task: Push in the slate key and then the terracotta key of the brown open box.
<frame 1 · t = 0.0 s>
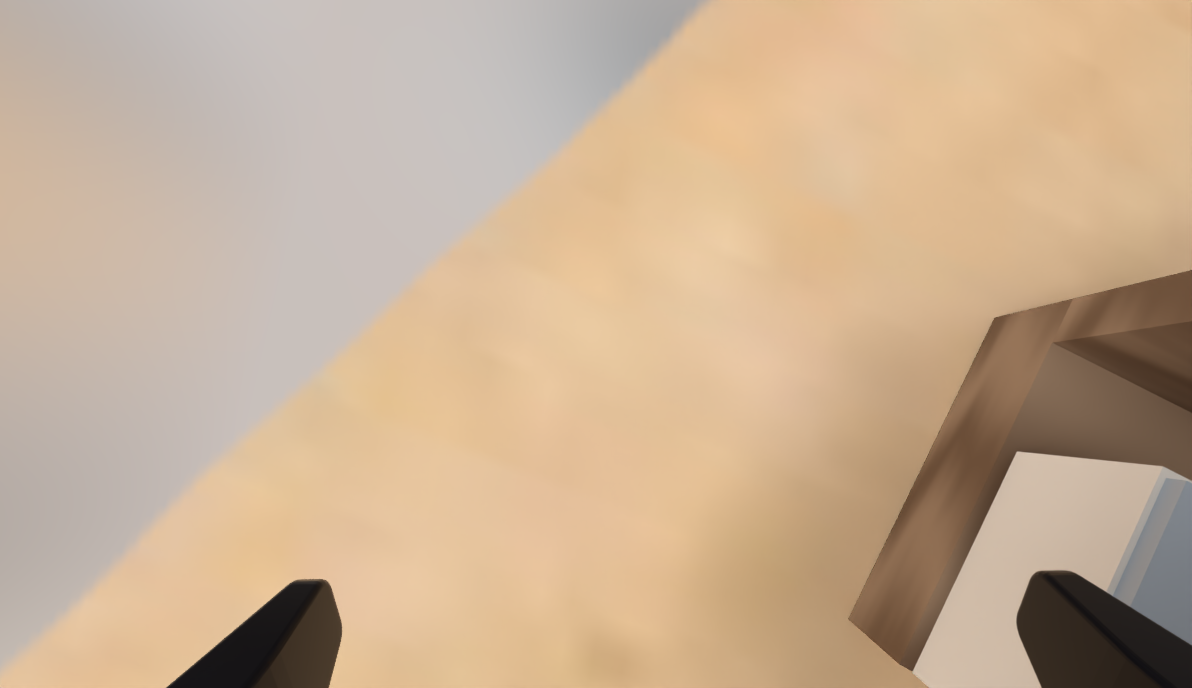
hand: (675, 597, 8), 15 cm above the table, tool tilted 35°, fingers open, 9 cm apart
slate key: (1113, 632, 16), point 7 cm above the table, slide at 0.0 cm
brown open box: (1064, 620, 22), on the table
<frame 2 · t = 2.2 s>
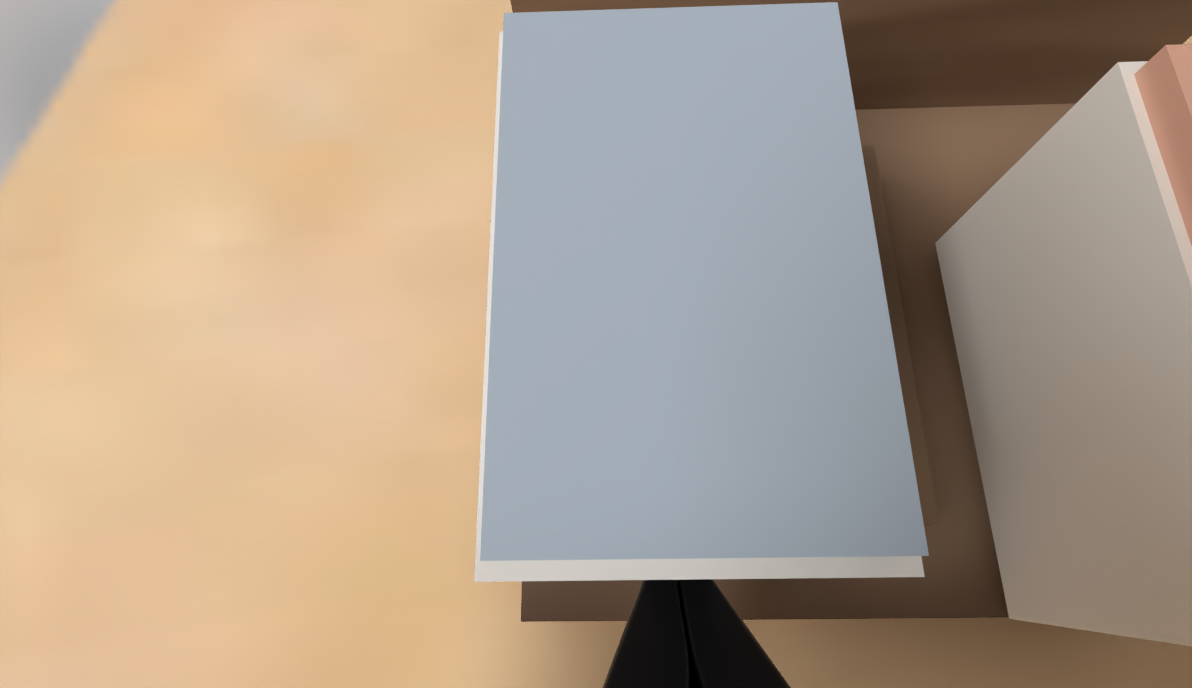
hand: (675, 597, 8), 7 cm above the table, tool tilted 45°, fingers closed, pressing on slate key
slate key: (665, 327, 10), point 7 cm above the table, slide at 0.8 cm, touching gripper
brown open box: (807, 451, 16), on the table
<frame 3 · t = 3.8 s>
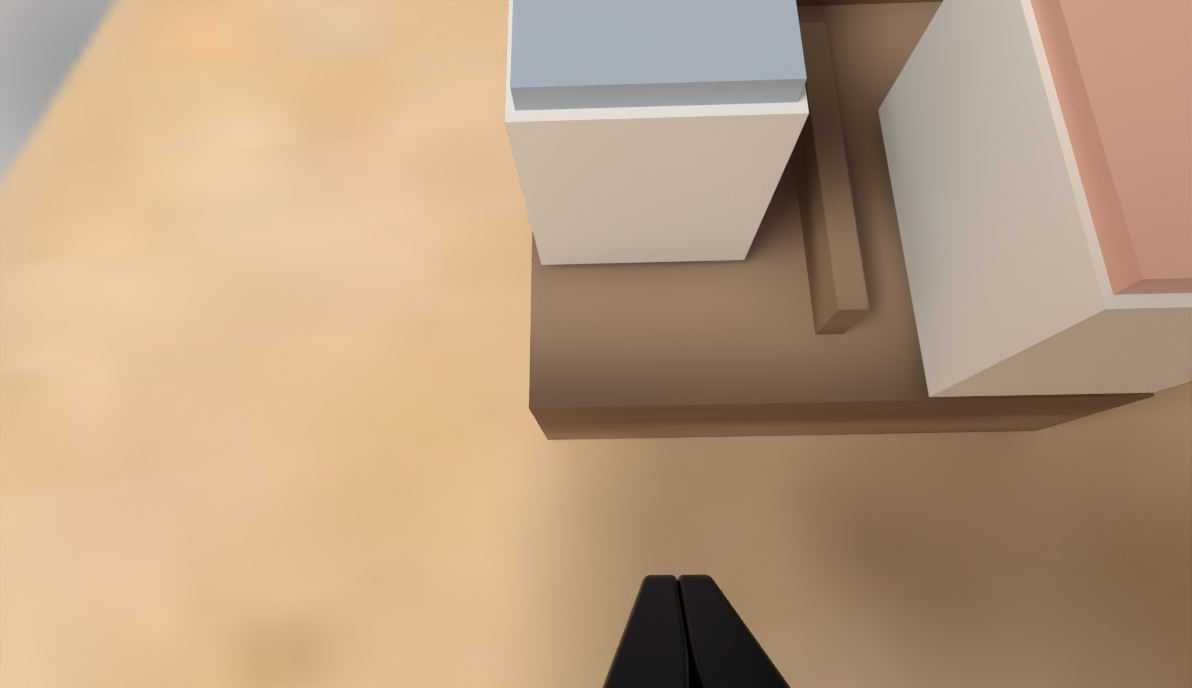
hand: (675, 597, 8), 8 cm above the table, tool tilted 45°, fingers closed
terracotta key: (1092, 169, 12), point 7 cm above the table, slide at 0.0 cm
slate key: (641, 41, 13), point 7 cm above the table, slide at 3.2 cm
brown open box: (776, 313, 18), on the table
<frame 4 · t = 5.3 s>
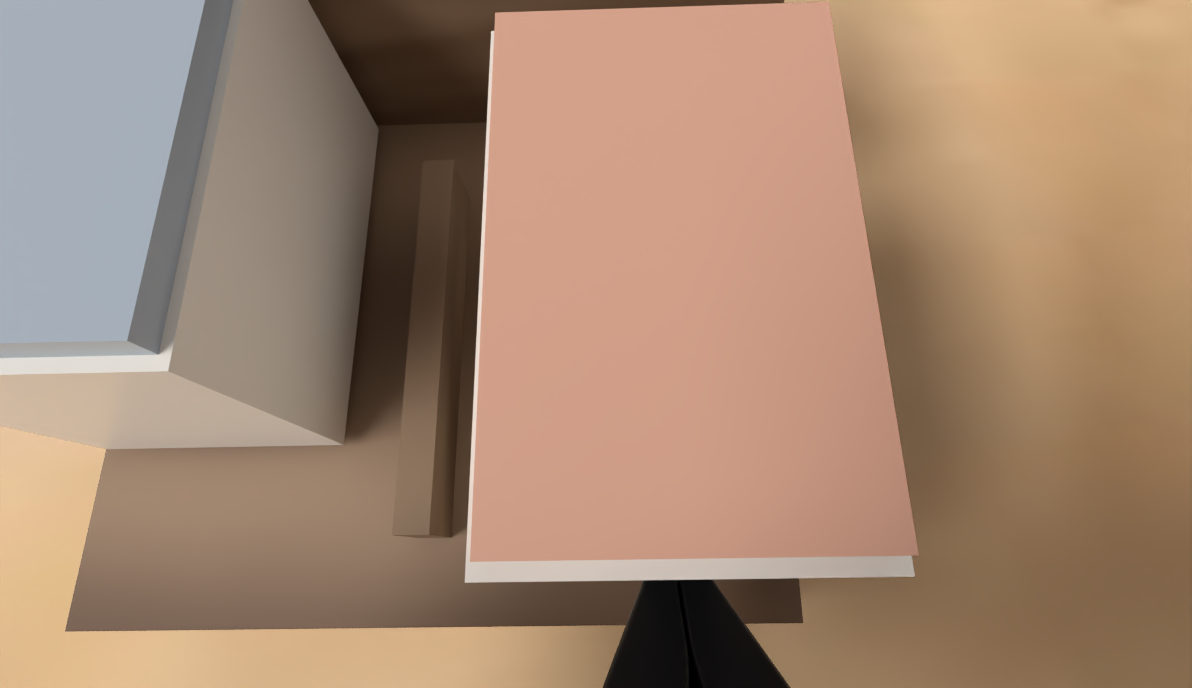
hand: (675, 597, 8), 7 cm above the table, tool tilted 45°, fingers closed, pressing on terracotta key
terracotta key: (658, 327, 10), point 7 cm above the table, slide at 0.9 cm, touching gripper
slate key: (164, 206, 11), point 7 cm above the table, slide at 3.2 cm
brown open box: (482, 459, 16), on the table
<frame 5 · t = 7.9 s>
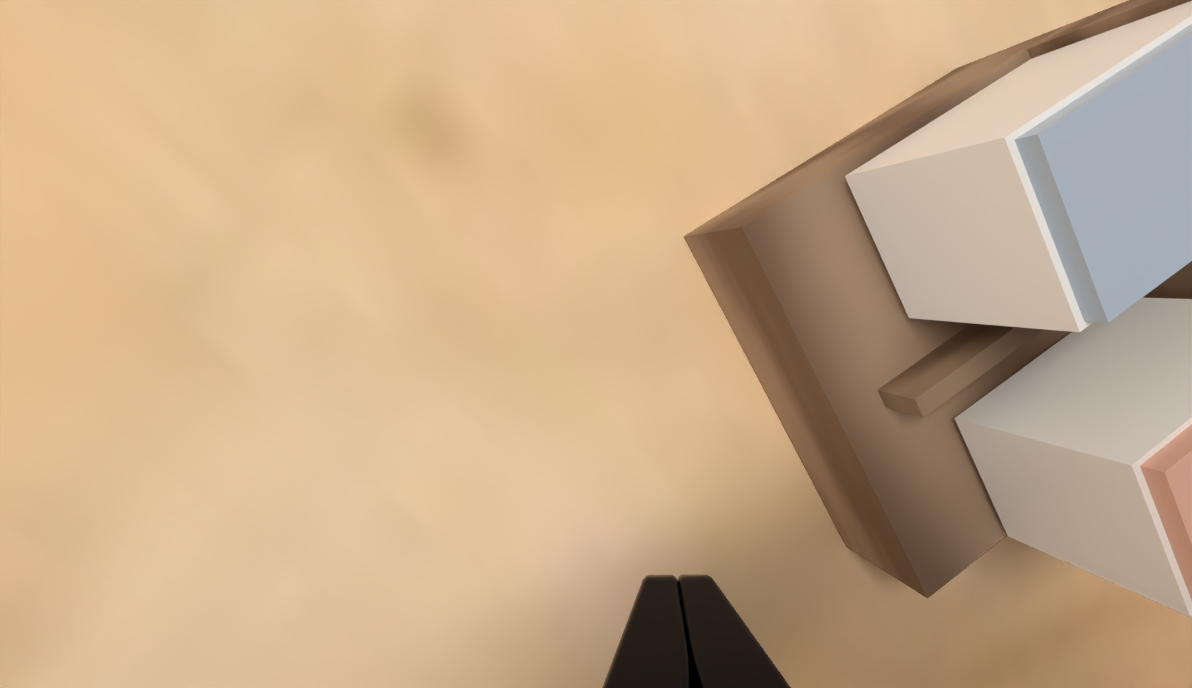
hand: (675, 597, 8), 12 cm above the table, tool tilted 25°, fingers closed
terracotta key: (1159, 436, 18), point 7 cm above the table, slide at 3.2 cm
slate key: (1061, 172, 16), point 7 cm above the table, slide at 3.2 cm
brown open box: (847, 348, 23), on the table
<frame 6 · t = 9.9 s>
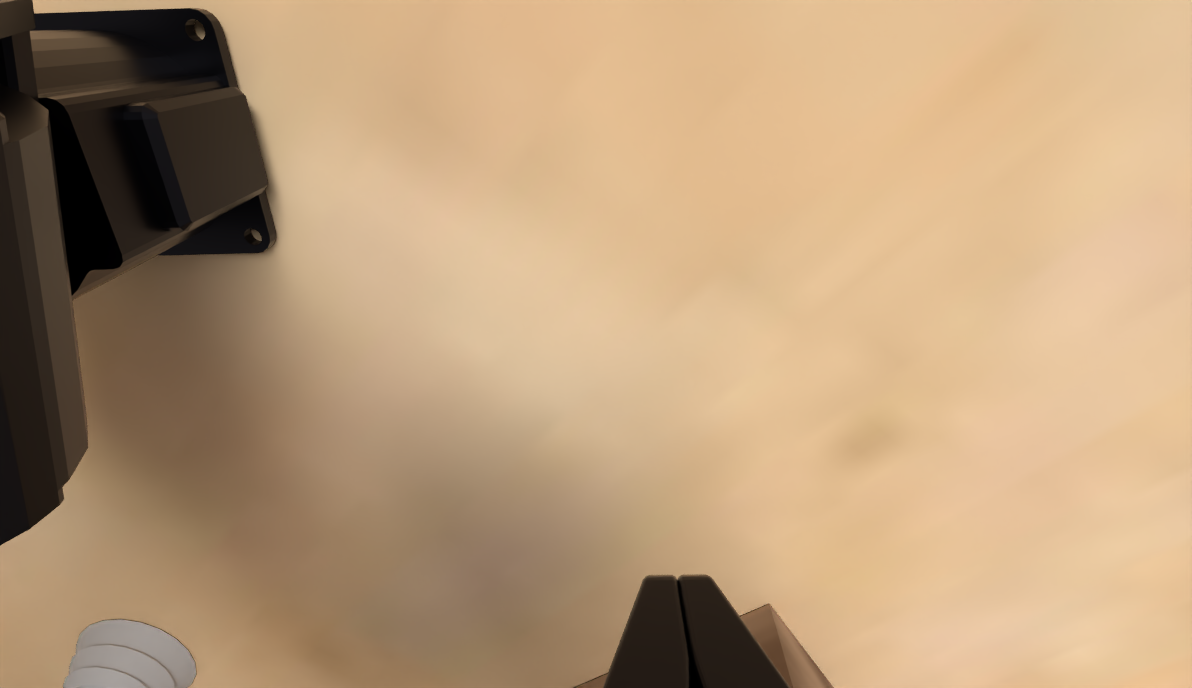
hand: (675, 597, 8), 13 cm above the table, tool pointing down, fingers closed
chalice: (140, 655, 29), on the table
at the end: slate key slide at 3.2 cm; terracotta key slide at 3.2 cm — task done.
